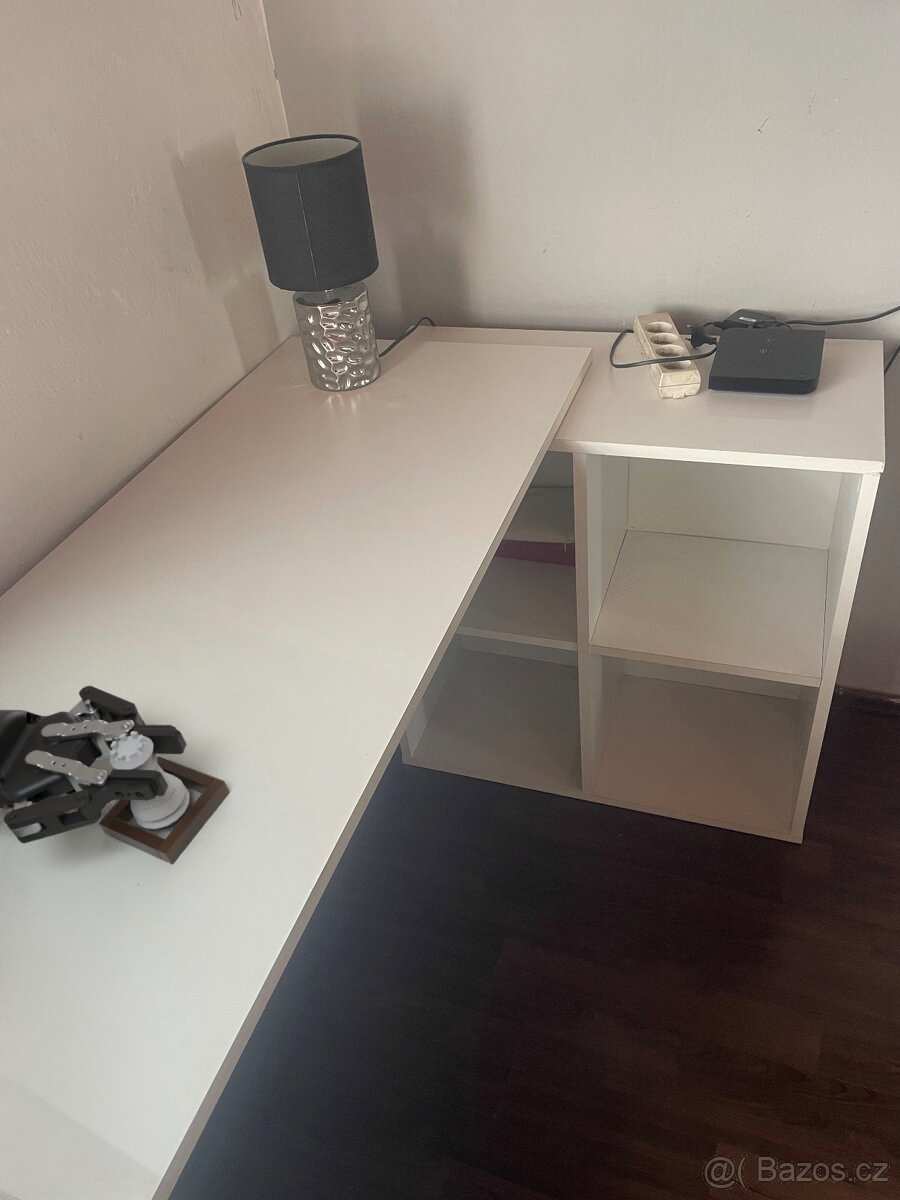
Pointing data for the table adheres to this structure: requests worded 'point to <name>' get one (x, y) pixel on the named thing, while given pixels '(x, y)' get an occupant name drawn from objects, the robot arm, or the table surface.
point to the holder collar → (186, 827)
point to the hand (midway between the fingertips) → (171, 761)
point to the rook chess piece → (140, 756)
